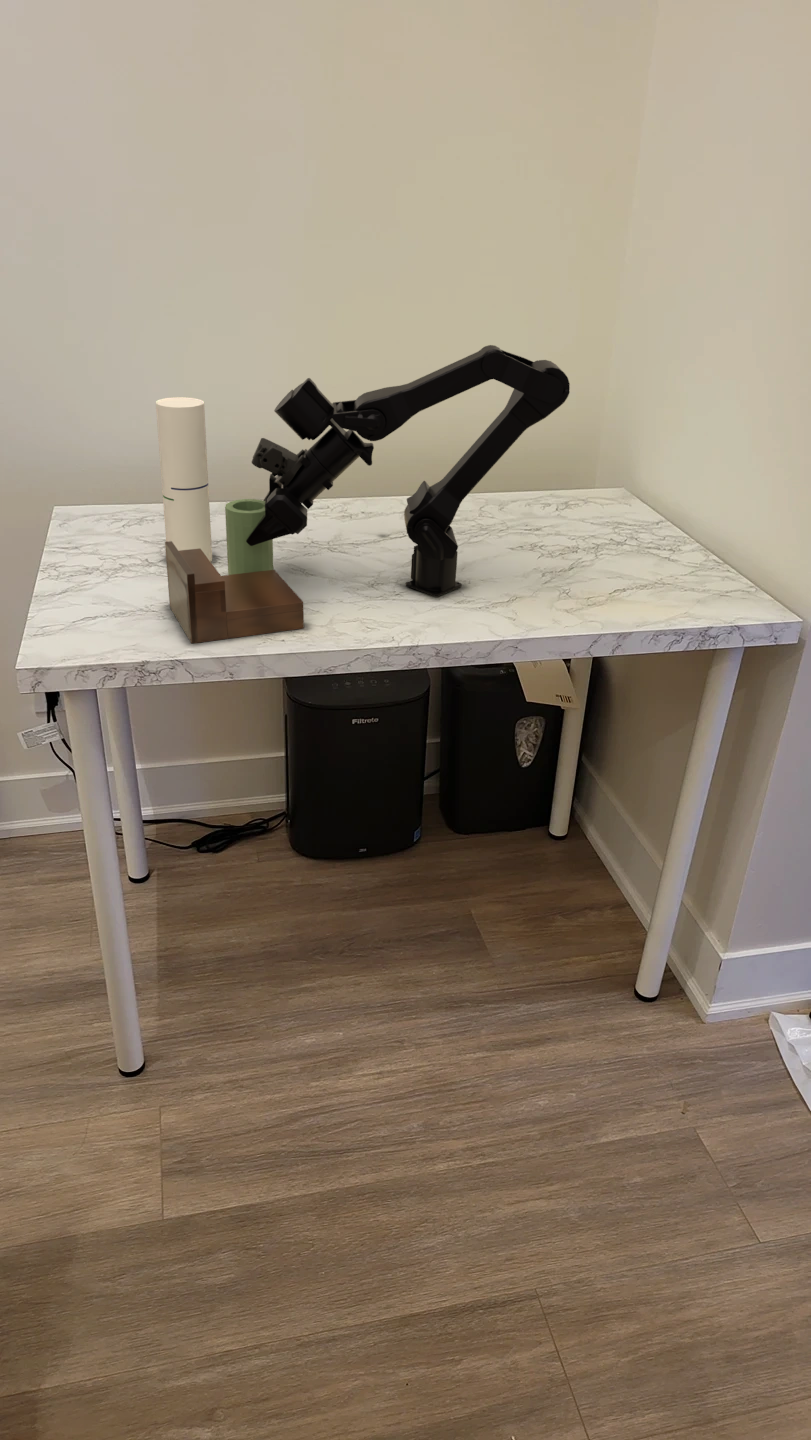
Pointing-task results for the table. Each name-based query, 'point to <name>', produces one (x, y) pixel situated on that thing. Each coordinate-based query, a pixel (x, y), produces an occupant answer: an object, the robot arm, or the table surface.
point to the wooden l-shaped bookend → (227, 599)
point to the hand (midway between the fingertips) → (250, 533)
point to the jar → (238, 528)
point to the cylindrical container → (184, 473)
